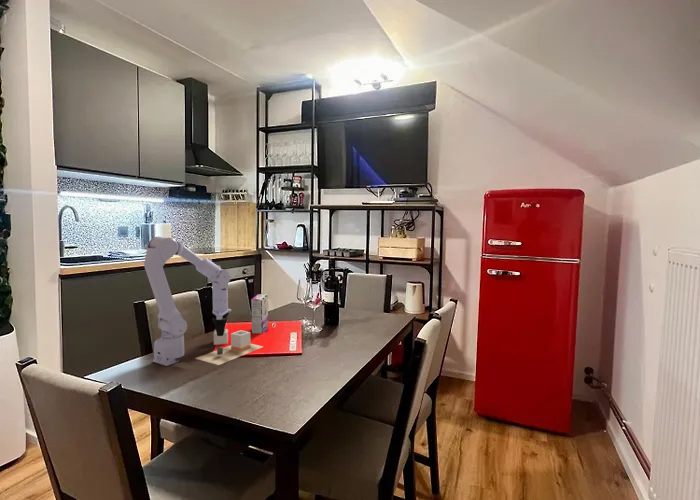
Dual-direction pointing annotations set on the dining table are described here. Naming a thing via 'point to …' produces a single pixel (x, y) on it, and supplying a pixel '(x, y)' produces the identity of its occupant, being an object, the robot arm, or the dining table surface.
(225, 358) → the pin board
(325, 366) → the dining table surface
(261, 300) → the candy bar box
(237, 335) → the seated sleeve
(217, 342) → the loose sleeve
